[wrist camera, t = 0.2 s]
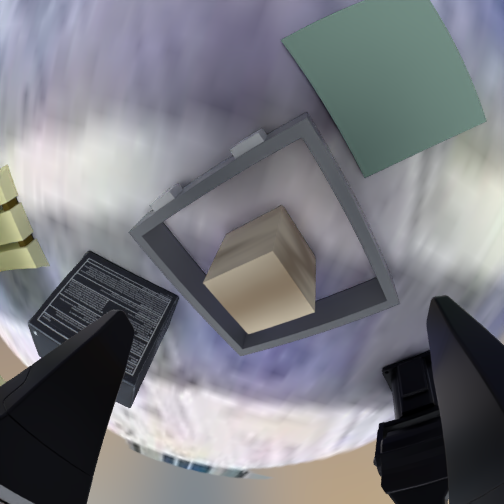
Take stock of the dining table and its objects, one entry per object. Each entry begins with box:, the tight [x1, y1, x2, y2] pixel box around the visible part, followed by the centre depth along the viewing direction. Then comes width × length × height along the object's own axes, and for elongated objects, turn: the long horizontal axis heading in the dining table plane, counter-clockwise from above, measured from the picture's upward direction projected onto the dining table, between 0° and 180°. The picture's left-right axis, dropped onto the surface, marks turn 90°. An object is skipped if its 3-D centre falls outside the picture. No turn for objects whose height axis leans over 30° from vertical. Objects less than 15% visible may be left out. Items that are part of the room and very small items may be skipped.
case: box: [129, 112, 400, 356], centre depth 22 cm, size 15×15×3 cm
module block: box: [203, 205, 316, 334], centre depth 21 cm, size 5×5×6 cm
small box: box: [28, 251, 179, 408], centre depth 25 cm, size 11×6×10 cm, turn 66°
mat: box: [281, 0, 486, 178], centre depth 14 cm, size 10×10×1 cm
